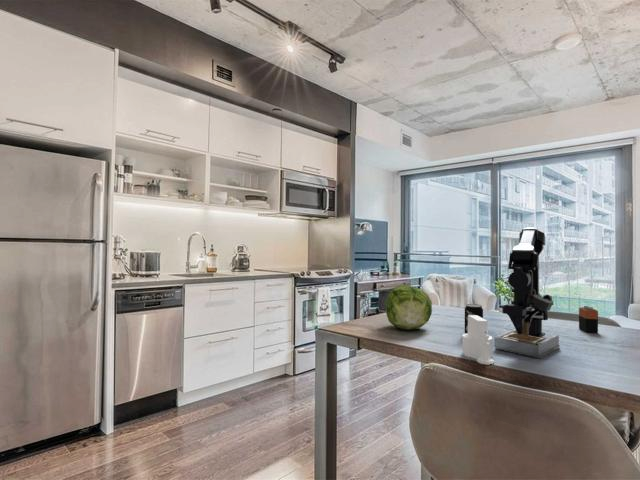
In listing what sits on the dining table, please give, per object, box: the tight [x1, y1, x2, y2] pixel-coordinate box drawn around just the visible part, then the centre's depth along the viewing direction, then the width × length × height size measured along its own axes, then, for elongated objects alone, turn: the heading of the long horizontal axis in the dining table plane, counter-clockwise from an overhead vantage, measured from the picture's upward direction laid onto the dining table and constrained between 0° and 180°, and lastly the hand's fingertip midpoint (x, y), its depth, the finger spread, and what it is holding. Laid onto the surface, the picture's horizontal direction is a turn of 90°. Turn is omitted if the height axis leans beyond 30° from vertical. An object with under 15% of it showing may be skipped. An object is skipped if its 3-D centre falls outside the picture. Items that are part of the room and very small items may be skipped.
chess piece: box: [476, 328, 495, 366], centre depth 114 cm, size 5×5×10 cm
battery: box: [578, 305, 599, 334], centre depth 153 cm, size 4×7×10 cm, turn 168°
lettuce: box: [384, 284, 433, 331], centre depth 156 cm, size 19×23×18 cm
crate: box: [503, 322, 545, 344], centre depth 126 cm, size 8×10×8 cm
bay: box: [493, 328, 560, 359], centre depth 128 cm, size 19×14×4 cm
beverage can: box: [464, 303, 484, 334], centre depth 145 cm, size 7×7×12 cm
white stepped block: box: [461, 315, 493, 359], centre depth 121 cm, size 9×9×12 cm
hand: (523, 332), depth 126 cm, fingers open, 5 cm apart
